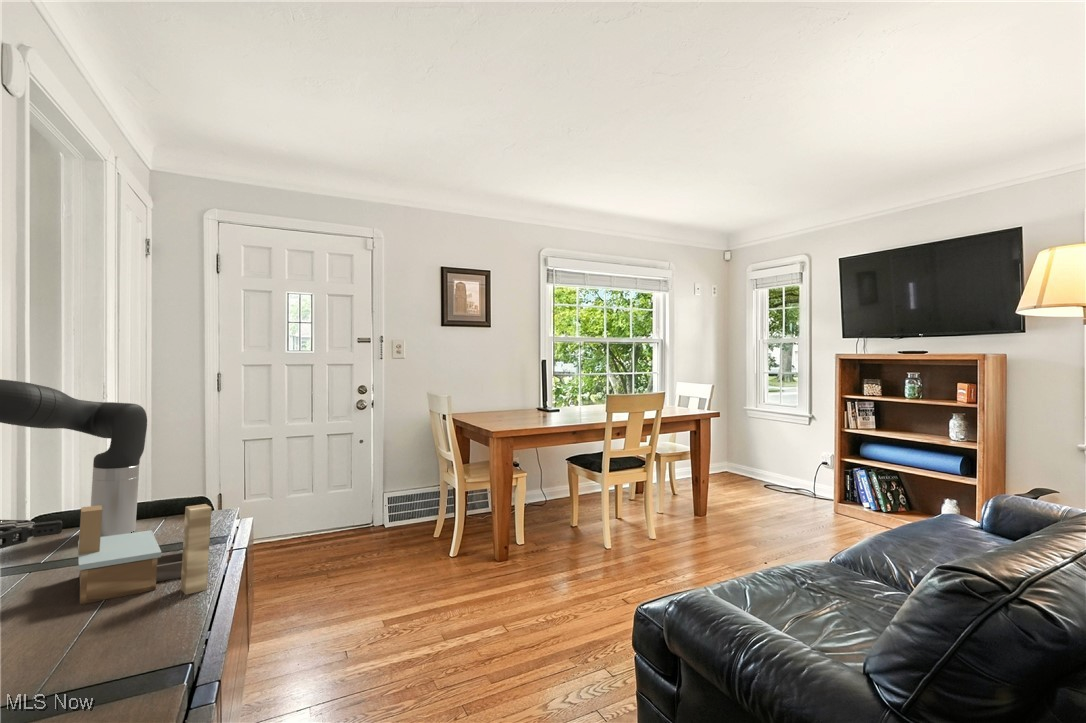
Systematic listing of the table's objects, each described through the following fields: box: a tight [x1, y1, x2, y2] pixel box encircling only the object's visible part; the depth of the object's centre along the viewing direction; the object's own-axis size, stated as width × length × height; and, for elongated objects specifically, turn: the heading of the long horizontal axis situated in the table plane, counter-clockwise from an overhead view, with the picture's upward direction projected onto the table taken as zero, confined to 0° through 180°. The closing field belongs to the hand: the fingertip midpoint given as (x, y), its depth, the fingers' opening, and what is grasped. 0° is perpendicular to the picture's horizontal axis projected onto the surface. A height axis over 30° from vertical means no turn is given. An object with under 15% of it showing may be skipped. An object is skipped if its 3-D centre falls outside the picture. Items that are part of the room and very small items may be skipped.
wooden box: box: [78, 551, 183, 605], centre depth 106 cm, size 16×18×6 cm
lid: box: [77, 505, 162, 572], centre depth 104 cm, size 17×12×9 cm
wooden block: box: [180, 503, 213, 596], centre depth 102 cm, size 4×4×16 cm
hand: (61, 526), depth 98 cm, fingers closed
